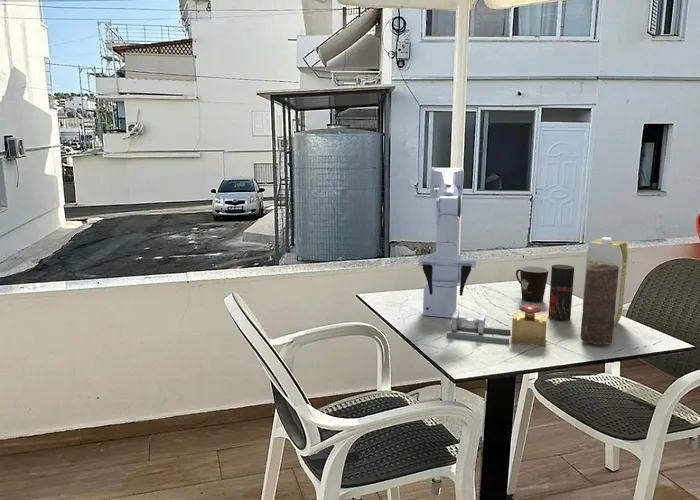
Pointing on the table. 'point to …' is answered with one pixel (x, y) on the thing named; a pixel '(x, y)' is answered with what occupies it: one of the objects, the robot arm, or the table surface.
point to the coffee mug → (533, 283)
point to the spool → (468, 324)
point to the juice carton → (610, 255)
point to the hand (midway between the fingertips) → (445, 294)
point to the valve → (529, 326)
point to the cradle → (483, 337)
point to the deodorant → (561, 292)
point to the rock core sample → (599, 304)
